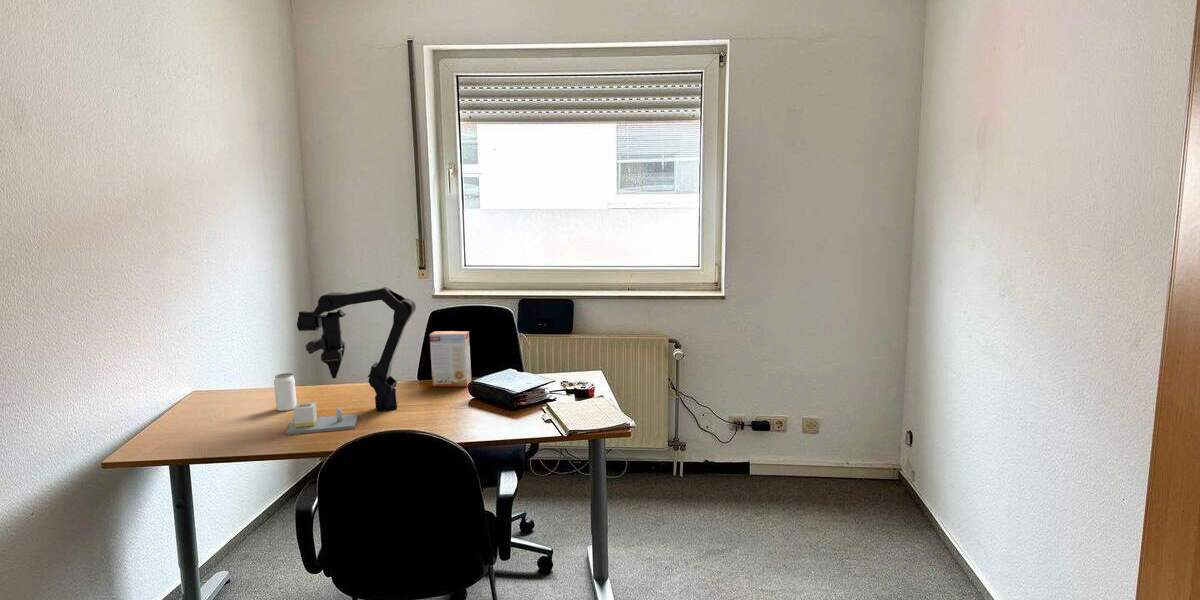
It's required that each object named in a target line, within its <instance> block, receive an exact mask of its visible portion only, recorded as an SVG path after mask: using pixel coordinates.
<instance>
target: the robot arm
mask: <svg viewBox="0 0 1200 600" xmlns="http://www.w3.org/2000/svg"><path fill="white" fill-rule="evenodd" d="M377 301H382V302H384V303H385V305H386V306H388V307H389V309H392V311H394V312H393V317H392V321H393V322H392V326H391V329H390V331H389V334H388V336H387V340H386V343H385V345H384V347H383V348H384V349H383V351H382V352H381V353H382V354H381V356H380V359H379V361H378V362H377V361H375V362H374V363H373V364H372V365H371V366H370V372H369V374H367V378H368V384H369V385H370V387H371V388H372V389H373V390H374V392H375V396H374V400H375V401H374V403H375V408H376V412H381V411H382V412H383V411H384V412H385V411H392V410H393V411H394V410H398V409H397V408H398V400H397V388H396V387H397V384H398V381H397V380H396V379H395V378H393V376H392V375H391V373H392V364H393V361H394V357H395V355H396V352H397V350H398V346H399V344H400V341H401V339H402V336H403V333H404V331H405V327H406V326H407V325H408V323H409V321H410V320H411V318H412V316H413V314H414V313H415V312H416V308H417V305H416V303H415V302H414V300H412V299H410V298H406V297H405V296H403V295H401V294H399V293H397V292H395V291H393V290H392V289H390V288H389V287H387V286H385V287H384V286H383V287H380V288H375V289H369V290H362V291H356V292H350V293H349V292H347V293H346V292H345V293H344V292H328V293H325V294H324V295H322V296H320V297H319V298H318V301H317V306H316V308H315V309H314V310H313V311H312V310H311V311H307V310H301V311H299V312H298V317H297V322H296V328H297V329H298V332H318V331H319V329H320V328H322V329H321V330H322V335H321V337H319V338H318V339H314V340H313V339H312V340H311V341H308V342H307V343H306V344H305V345H304V346H305V350H306V351H307V352H308V355H312V354H313V353H315V352H317V351H320V350H322V352H321V354H320V361H321V362H322V363H325V364H326V365H327V367H328V370H329V373H330V375H331V378H332V379H333V380H334V379H337V375H338V372H339V370H340V367H341V365H342V360H343V357H344V355H345V349H346V342H344V341H343V340H342V329H341V320H340V318H344V317H345V316H347V314H346V313H345V312H344V311H342V309H340V308H344V307H347V306H350V305H356V304H358V305H359V304H363V303H370V302H377ZM335 310H337V311H335ZM324 313H326V314H324Z"/></svg>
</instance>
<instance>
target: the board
mask: <svg viewBox="0 0 1200 600" xmlns="http://www.w3.org/2000/svg"><path fill="white" fill-rule="evenodd" d="M342 409H343V408H342V407H341V408H339V407H338V408H336V415H331V416H330V415H329V416H321V417H318V416H317V421H316V423H315V425H314V426H304V427H295V419H292V421H291V423H290V424H289V426H288V427H287V430H286V431H285V436H290V435H289V434H293V435H301V434H300V433H303V434H311V432H313V433H322V432H331V431H332V432H333V431H341V430H342V431H343V430H352V429H353V430H354V429H356V425H357V421H358V419H359V413H352V414H343V410H342Z"/></svg>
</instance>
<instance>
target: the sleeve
mask: <svg viewBox="0 0 1200 600" xmlns="http://www.w3.org/2000/svg"><path fill="white" fill-rule="evenodd" d="M293 417H294V420H295V427H304V426H314V425H315V423H316V421H317V418H318V414H317V405H316V401H312V402H311V401H310V402H302V403H301V402H300V403H299V402H298V403H297V404H296V406H295V408H294V409H293Z"/></svg>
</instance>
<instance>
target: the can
mask: <svg viewBox="0 0 1200 600" xmlns="http://www.w3.org/2000/svg"><path fill="white" fill-rule="evenodd" d="M273 384H274V385H273V386H274V396H275V398H274V399H275V405H276V406H275V407H276V410H277V411H279V412H289V411H294V408H295V406H296V404H298V402H297V392H296V390H297V389H296V382H295V377H294V375H293V373H289V372H287V373H278V374H276V375H275V376H274V379H273Z"/></svg>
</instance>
